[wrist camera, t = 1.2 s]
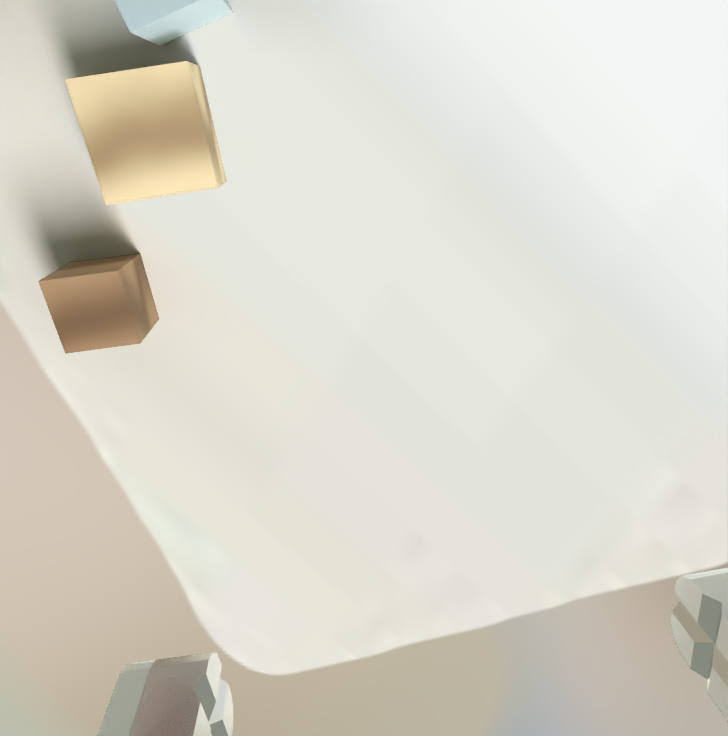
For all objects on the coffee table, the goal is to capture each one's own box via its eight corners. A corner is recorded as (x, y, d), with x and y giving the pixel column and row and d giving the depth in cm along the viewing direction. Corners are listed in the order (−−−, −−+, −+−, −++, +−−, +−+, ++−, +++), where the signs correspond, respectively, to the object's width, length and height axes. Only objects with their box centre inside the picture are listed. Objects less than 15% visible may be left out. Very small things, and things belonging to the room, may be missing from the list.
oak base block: (91, 83, 35) (64, 79, 31) (200, 66, 35) (186, 60, 31) (126, 196, 38) (106, 205, 34) (227, 181, 38) (217, 187, 34)
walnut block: (70, 262, 39) (38, 281, 35) (140, 253, 39) (117, 270, 35) (93, 327, 41) (65, 353, 37) (159, 318, 41) (140, 343, 37)
